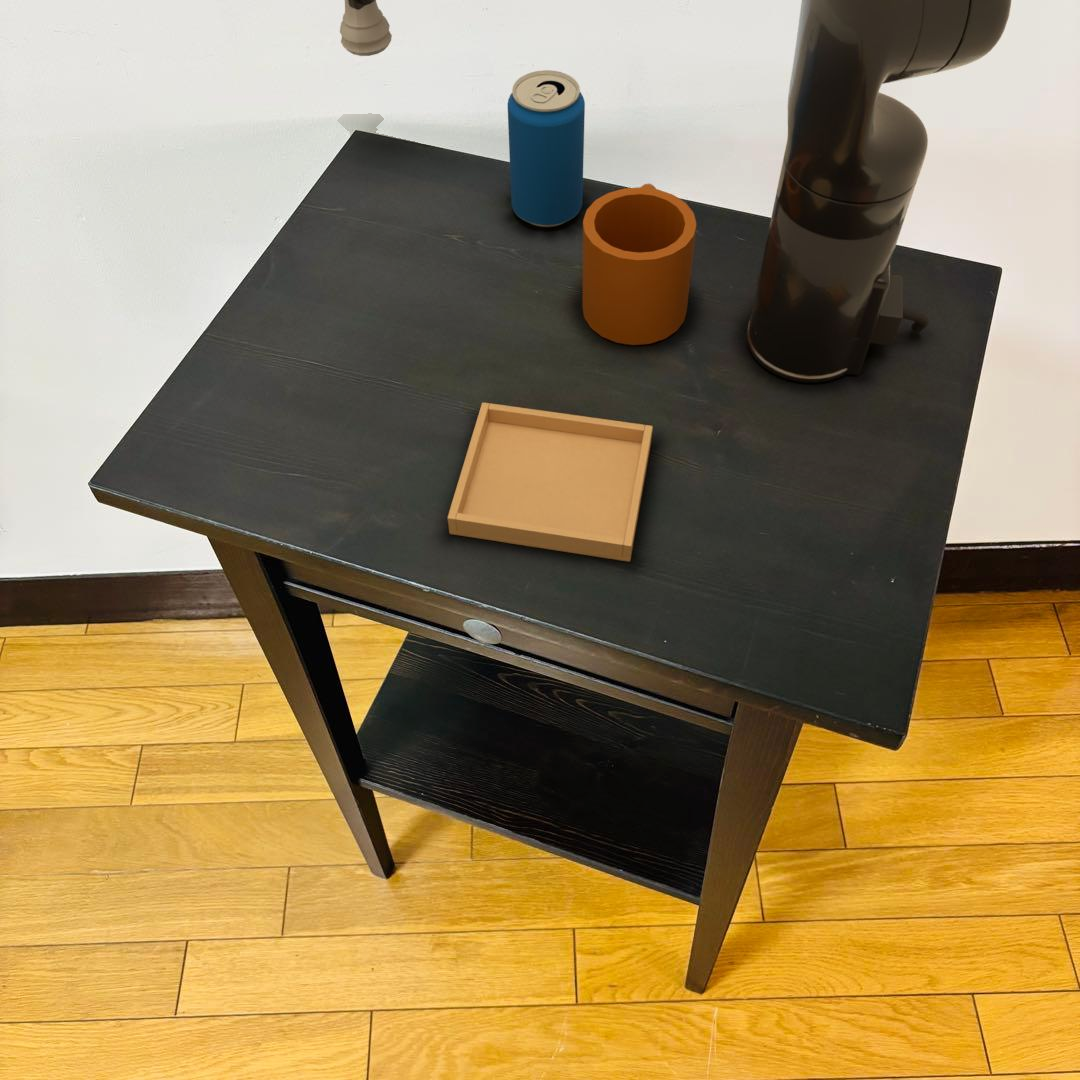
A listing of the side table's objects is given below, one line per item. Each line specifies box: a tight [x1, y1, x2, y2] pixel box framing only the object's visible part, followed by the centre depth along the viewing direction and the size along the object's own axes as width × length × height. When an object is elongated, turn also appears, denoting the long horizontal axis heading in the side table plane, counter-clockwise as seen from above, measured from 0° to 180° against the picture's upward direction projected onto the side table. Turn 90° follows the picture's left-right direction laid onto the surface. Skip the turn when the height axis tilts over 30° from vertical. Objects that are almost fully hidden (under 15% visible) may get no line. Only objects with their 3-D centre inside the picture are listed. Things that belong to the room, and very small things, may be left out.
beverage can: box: [507, 69, 586, 228], centre depth 93 cm, size 6×6×12 cm
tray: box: [446, 401, 654, 563], centre depth 78 cm, size 13×11×2 cm
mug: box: [581, 183, 697, 346], centre depth 87 cm, size 9×12×9 cm
